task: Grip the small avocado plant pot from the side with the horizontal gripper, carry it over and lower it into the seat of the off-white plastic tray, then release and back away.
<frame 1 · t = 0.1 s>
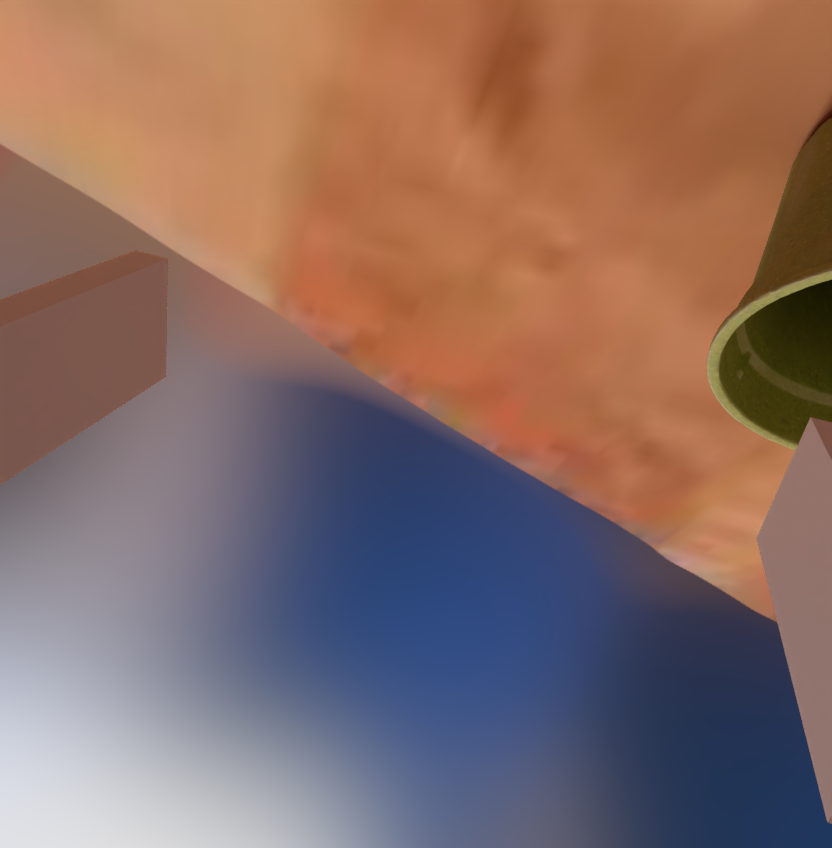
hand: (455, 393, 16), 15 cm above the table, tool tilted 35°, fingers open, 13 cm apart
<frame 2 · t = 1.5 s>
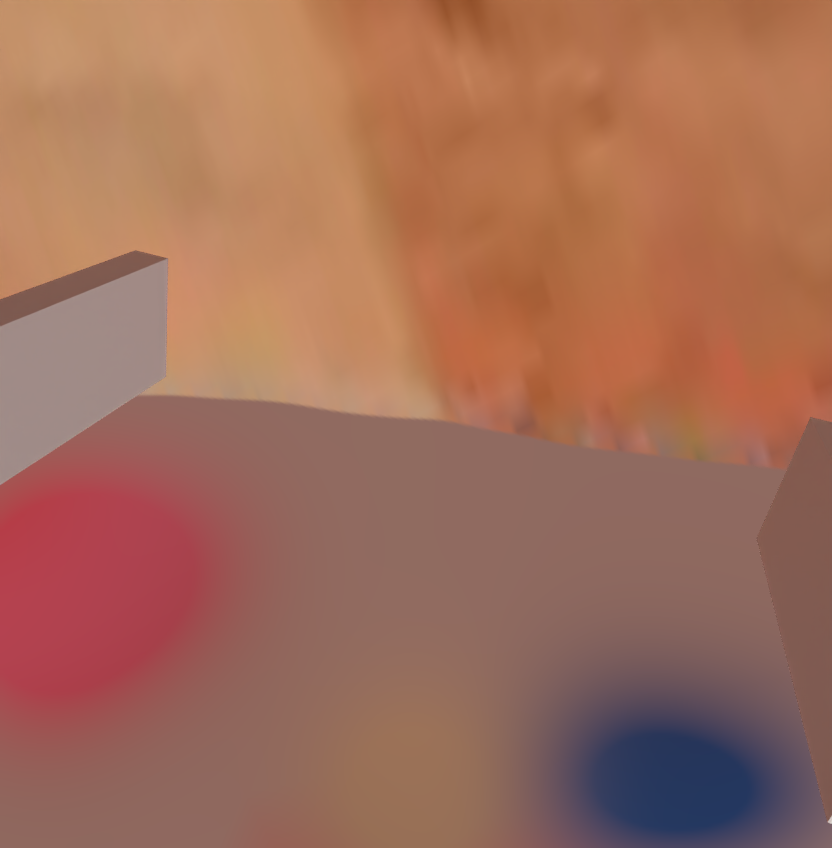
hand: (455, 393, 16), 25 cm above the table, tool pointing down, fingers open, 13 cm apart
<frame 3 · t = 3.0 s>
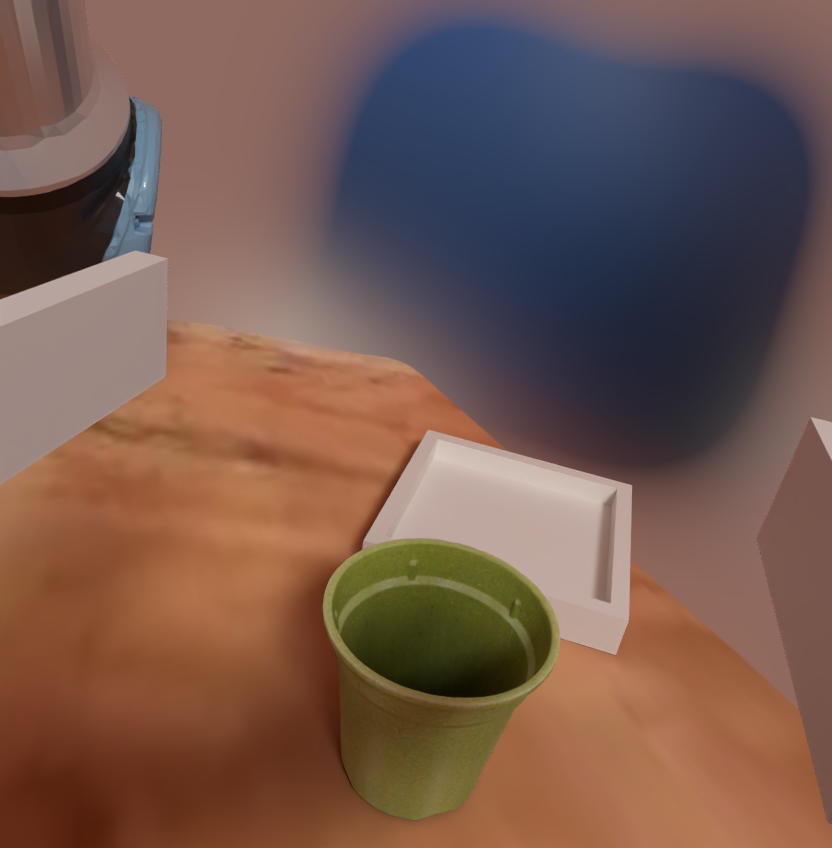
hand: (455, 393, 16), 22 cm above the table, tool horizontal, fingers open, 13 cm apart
plant pot: (407, 762, 34), on the table
pot tray: (504, 541, 50), on the table
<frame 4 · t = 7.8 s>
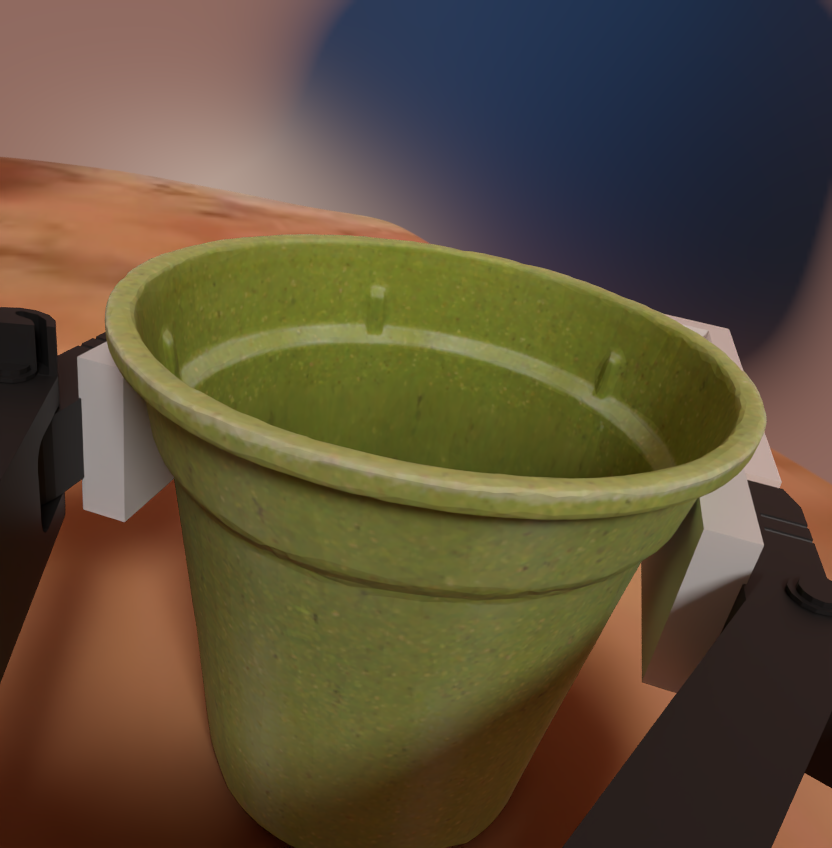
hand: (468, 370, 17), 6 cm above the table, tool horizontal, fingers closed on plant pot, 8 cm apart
plant pot: (363, 732, 16), on the table, touching gripper
pot tray: (538, 397, 31), on the table
when the fingers open (8 cm above the table, at t = 14.4 s): plant pot drops 1 cm, resting on pot tray.
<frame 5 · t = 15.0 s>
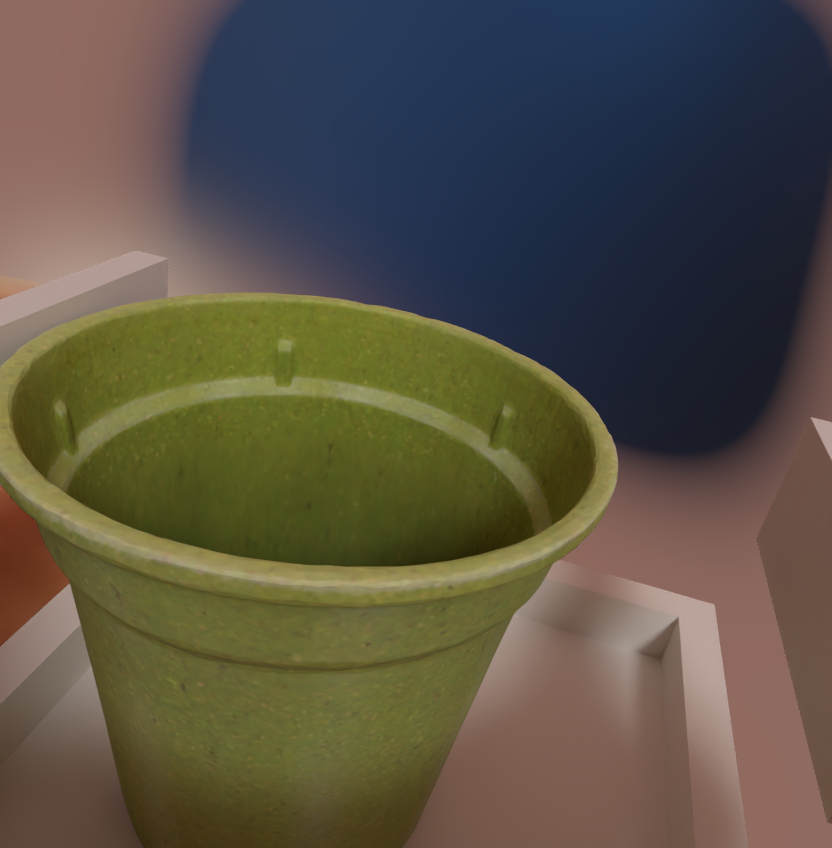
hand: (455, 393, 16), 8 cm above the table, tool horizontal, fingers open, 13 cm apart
plant pot: (276, 771, 16), point 1 cm above the table, touching pot tray
pot tray: (350, 805, 17), on the table
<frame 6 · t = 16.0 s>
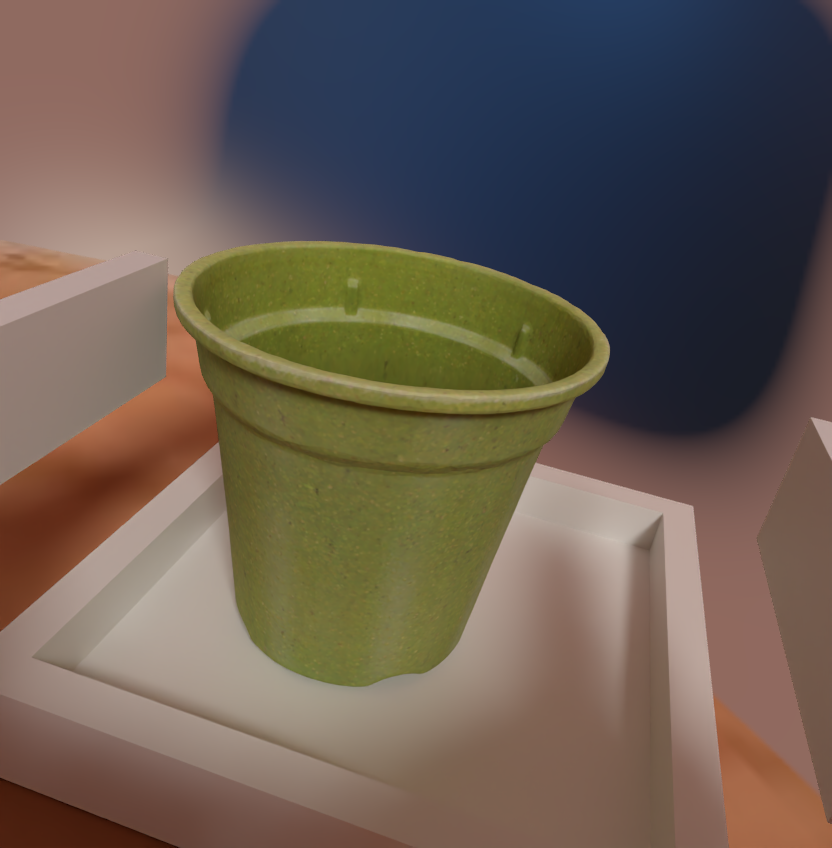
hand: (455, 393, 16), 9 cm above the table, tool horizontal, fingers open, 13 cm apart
plant pot: (348, 610, 21), point 1 cm above the table, touching pot tray
pot tray: (404, 640, 21), on the table
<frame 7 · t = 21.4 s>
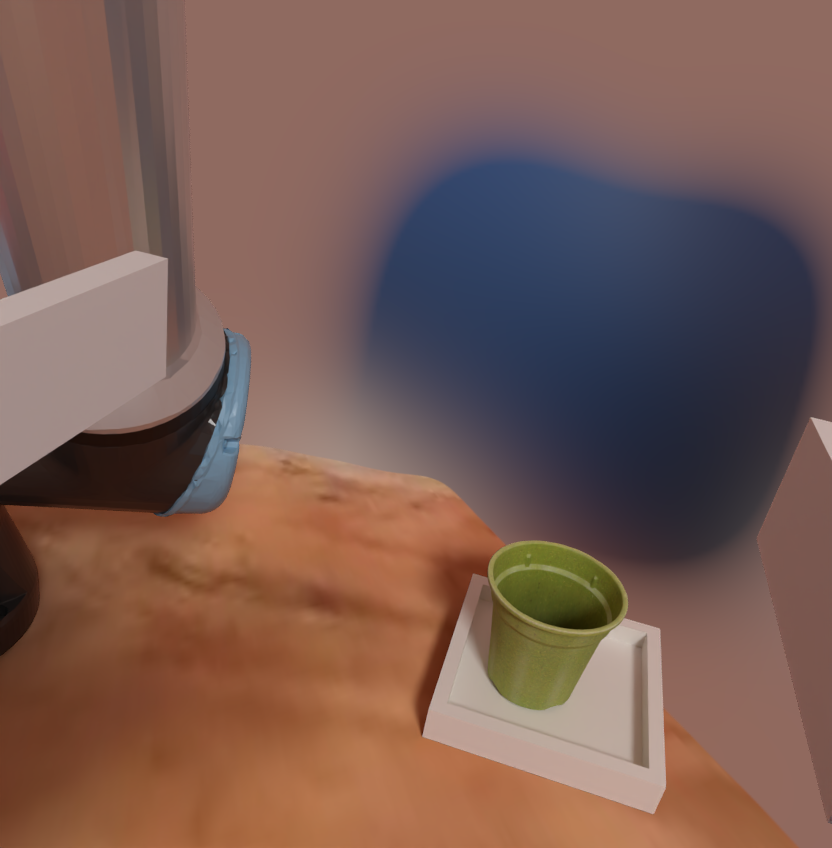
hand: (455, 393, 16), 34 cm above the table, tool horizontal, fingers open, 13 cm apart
plant pot: (527, 680, 55), point 1 cm above the table, touching pot tray
pot tray: (547, 690, 56), on the table
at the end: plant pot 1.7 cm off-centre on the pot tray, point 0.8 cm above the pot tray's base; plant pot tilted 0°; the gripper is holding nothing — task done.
